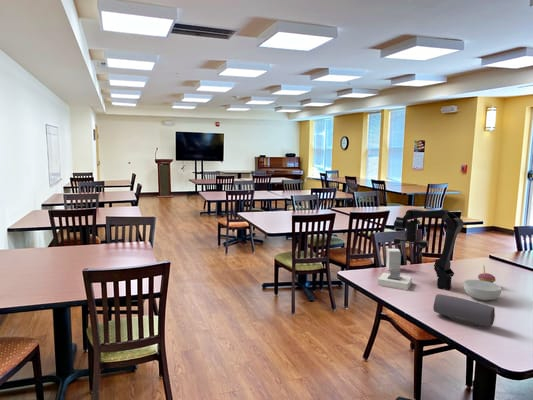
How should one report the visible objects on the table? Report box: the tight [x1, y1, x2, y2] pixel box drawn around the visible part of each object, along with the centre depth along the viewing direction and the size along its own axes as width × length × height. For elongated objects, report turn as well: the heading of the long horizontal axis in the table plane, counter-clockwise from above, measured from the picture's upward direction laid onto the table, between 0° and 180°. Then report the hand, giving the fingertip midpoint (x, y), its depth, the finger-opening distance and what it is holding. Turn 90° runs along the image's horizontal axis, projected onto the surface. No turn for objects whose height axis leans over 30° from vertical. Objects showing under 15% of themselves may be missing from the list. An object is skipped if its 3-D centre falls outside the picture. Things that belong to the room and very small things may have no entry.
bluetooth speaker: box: [432, 293, 496, 328], centre depth 169 cm, size 23×9×10 cm, turn 48°
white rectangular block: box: [385, 248, 402, 271], centre depth 247 cm, size 7×7×13 cm
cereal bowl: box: [463, 279, 503, 302], centre depth 198 cm, size 17×17×7 cm
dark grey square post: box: [389, 269, 401, 281], centre depth 218 cm, size 4×4×8 cm
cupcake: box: [477, 264, 496, 283], centre depth 217 cm, size 9×8×12 cm
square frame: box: [377, 272, 413, 291], centre depth 219 cm, size 16×14×4 cm
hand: (410, 256), depth 229 cm, fingers open, 9 cm apart
